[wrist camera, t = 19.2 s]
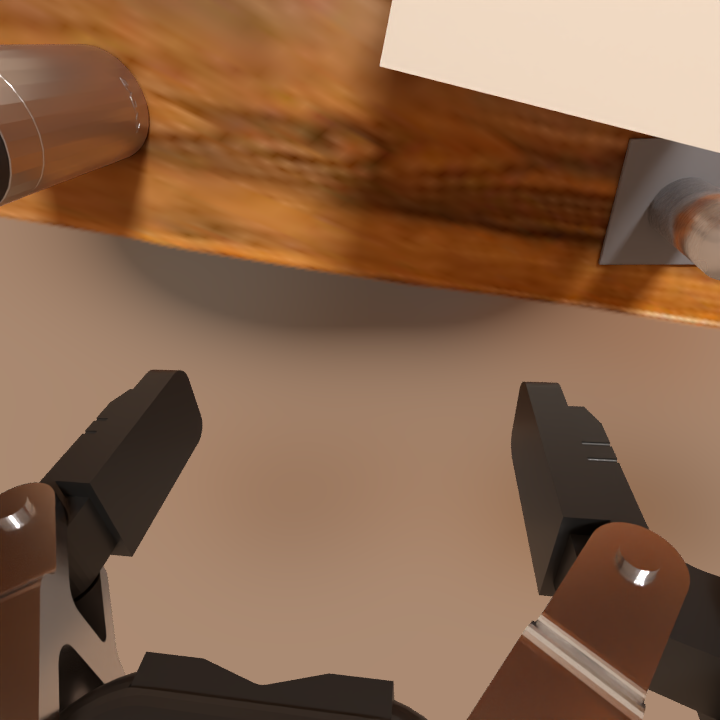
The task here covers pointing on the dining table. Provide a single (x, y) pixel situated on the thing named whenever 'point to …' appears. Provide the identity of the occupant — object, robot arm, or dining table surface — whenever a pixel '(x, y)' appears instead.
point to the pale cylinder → (690, 221)
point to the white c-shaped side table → (574, 58)
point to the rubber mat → (651, 199)
